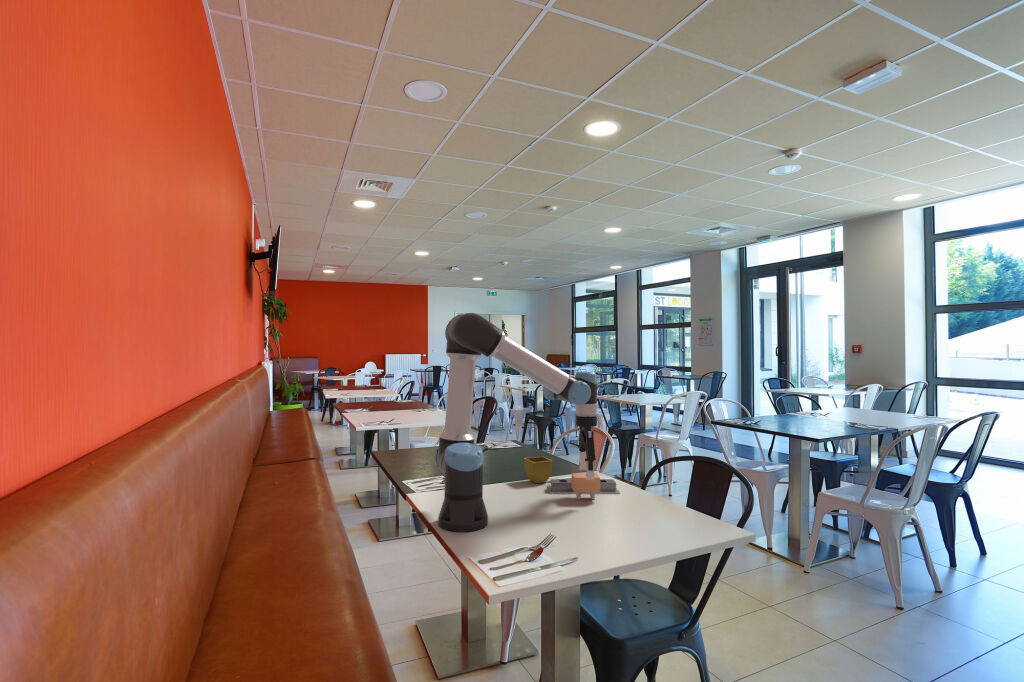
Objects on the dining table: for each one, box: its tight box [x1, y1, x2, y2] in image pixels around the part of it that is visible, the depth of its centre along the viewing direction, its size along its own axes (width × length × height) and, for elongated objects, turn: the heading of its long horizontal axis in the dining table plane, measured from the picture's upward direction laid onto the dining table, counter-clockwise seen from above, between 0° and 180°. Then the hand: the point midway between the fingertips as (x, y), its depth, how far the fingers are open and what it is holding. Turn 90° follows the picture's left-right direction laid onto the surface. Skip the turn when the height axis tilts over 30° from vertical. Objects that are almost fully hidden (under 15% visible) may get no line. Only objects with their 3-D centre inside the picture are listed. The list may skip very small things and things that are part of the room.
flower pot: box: [523, 456, 553, 484], centre depth 207 cm, size 9×9×9 cm
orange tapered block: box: [571, 472, 601, 501], centre depth 185 cm, size 9×7×8 cm
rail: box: [546, 478, 621, 495], centre depth 196 cm, size 10×26×3 cm, turn 92°
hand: (586, 474), depth 185 cm, fingers open, 13 cm apart
